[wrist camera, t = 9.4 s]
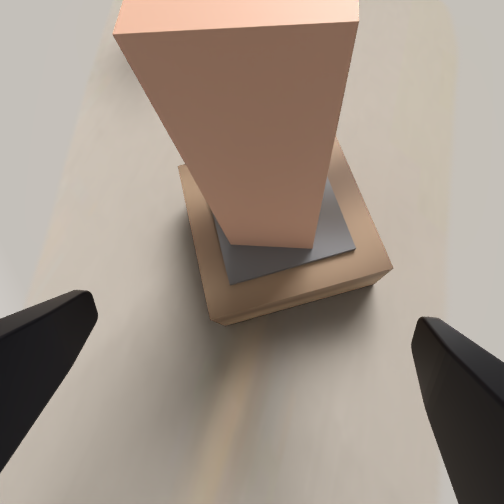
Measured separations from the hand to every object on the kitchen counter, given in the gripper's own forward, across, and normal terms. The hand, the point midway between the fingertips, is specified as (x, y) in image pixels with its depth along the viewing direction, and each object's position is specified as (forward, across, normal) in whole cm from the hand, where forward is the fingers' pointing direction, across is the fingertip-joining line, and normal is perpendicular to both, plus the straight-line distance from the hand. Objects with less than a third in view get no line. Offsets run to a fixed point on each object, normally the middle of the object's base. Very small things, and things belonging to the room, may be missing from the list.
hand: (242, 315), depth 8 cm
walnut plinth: (+13, 0, +3) cm, 14 cm away
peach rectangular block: (+10, 0, 0) cm, 10 cm away
